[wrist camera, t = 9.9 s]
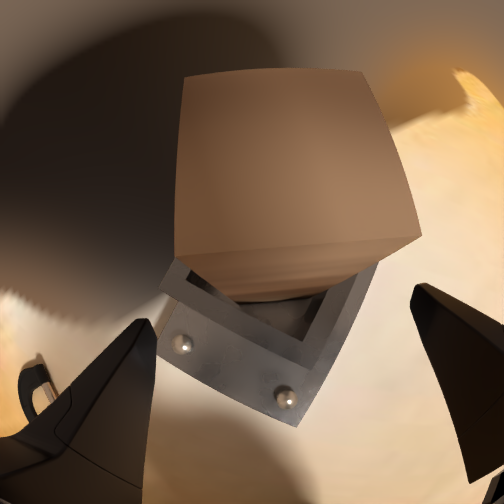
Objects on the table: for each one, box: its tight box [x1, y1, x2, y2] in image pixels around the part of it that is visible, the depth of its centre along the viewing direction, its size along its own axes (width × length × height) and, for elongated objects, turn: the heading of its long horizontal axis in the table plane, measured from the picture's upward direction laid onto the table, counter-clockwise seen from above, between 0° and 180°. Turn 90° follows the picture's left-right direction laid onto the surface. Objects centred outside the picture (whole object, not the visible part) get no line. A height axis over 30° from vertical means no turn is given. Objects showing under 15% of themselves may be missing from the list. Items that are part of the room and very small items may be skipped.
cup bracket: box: [156, 257, 378, 427], centre depth 15 cm, size 14×10×5 cm
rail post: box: [174, 68, 422, 306], centre depth 11 cm, size 4×4×12 cm
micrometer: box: [18, 364, 57, 423], centre depth 14 cm, size 15×7×2 cm, turn 33°
